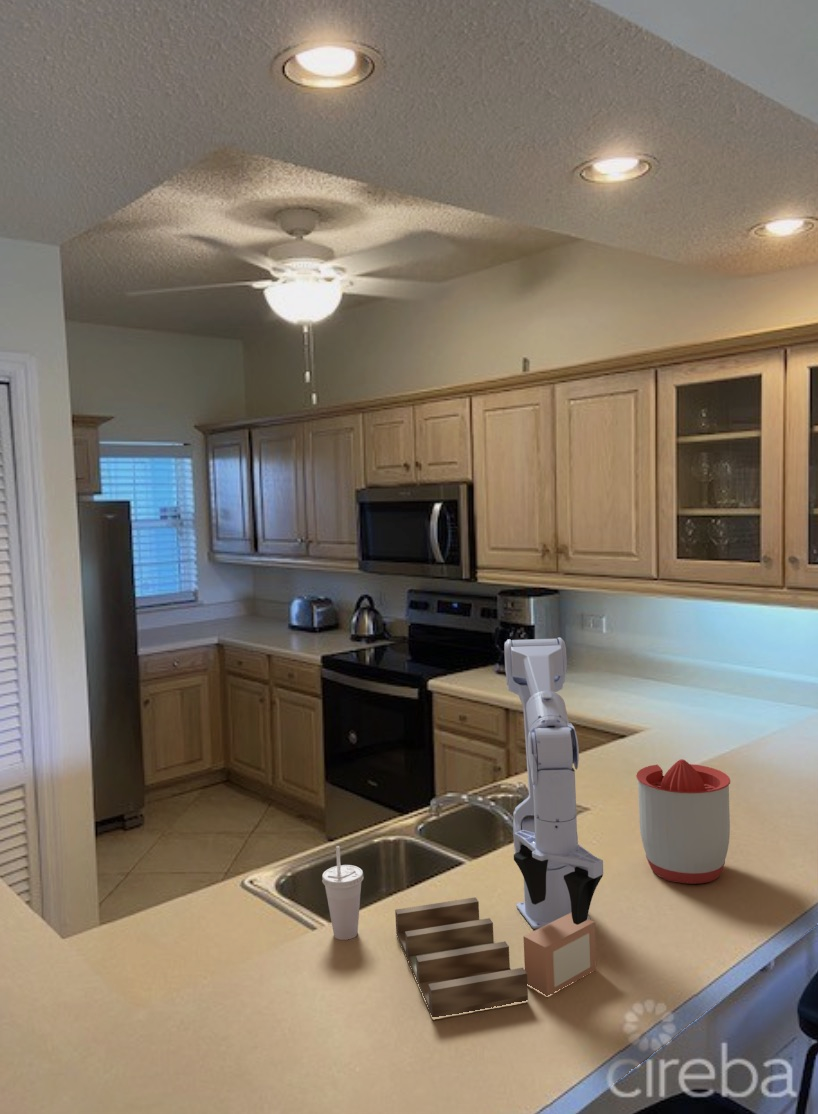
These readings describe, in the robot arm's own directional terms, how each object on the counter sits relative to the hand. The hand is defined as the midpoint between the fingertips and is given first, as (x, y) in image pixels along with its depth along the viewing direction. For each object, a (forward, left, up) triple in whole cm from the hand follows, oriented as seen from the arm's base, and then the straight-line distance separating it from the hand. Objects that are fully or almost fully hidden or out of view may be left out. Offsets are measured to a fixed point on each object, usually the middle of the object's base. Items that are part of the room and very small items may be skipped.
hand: (558, 911), depth 113 cm
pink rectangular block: (0, 0, -10) cm, 10 cm away
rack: (+13, -7, -9) cm, 17 cm away
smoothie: (+27, -21, -10) cm, 35 cm away
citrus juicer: (-34, -25, -10) cm, 43 cm away
